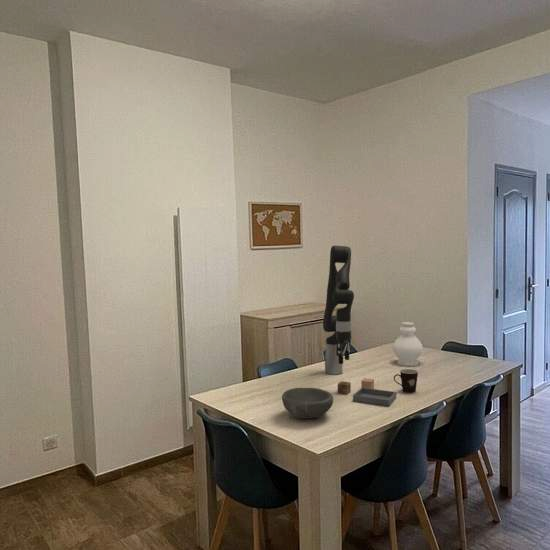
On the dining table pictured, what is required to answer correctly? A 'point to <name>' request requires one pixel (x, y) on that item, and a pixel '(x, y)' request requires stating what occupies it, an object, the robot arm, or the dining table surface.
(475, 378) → the dining table surface
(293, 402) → the bowl
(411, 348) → the decorative vase
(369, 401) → the charcoal tray
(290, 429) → the dining table surface
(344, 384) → the walnut block
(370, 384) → the terracotta block
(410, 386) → the coffee mug
